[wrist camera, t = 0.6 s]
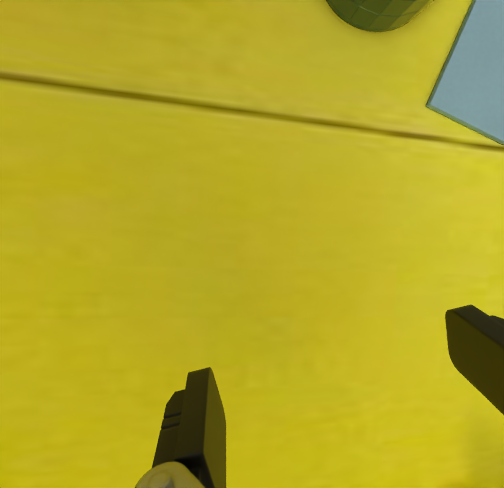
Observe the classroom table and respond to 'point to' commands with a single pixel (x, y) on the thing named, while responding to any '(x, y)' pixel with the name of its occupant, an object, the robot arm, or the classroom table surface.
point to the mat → (475, 73)
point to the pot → (378, 12)
